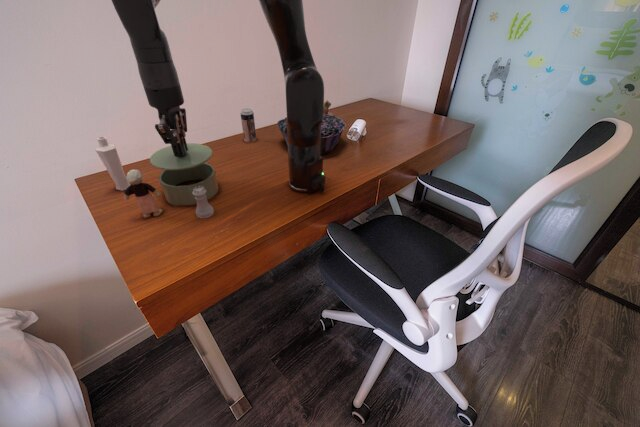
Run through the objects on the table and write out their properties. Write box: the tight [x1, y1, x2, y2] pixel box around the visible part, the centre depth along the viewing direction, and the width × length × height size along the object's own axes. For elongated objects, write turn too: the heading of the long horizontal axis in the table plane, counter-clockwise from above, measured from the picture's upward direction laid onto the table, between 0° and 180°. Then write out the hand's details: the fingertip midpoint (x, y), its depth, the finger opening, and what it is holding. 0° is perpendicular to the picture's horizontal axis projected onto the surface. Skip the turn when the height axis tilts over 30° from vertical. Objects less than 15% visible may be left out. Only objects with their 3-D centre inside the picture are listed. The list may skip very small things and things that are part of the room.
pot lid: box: [149, 136, 213, 171], centre depth 73 cm, size 15×15×6 cm
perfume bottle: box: [95, 136, 131, 192], centre depth 78 cm, size 5×4×15 cm
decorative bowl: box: [276, 113, 347, 155], centre depth 109 cm, size 26×28×10 cm
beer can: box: [239, 108, 257, 143], centre depth 108 cm, size 5×5×12 cm
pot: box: [158, 162, 220, 207], centre depth 79 cm, size 14×14×6 cm
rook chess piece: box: [192, 186, 215, 219], centre depth 70 cm, size 4×4×8 cm
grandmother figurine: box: [123, 169, 163, 219], centre depth 69 cm, size 8×4×13 cm, turn 118°
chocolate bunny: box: [323, 99, 334, 115], centre depth 130 cm, size 6×8×10 cm
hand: (181, 153), depth 74 cm, fingers closed on pot lid, 2 cm apart
